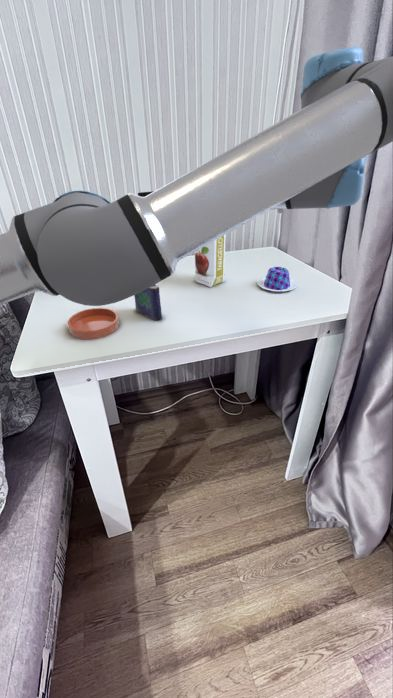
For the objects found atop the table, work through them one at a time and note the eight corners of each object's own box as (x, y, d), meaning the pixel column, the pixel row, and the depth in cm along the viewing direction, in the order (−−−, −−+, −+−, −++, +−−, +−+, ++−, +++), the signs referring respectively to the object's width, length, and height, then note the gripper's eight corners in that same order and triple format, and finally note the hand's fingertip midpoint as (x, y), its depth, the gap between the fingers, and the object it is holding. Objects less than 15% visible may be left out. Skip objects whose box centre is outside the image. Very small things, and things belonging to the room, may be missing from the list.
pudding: (304, 288, 98) (307, 271, 96) (274, 296, 94) (276, 279, 91) (278, 275, 107) (280, 260, 104) (249, 283, 102) (250, 267, 100)
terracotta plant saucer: (95, 344, 74) (93, 336, 73) (59, 331, 79) (57, 323, 78) (128, 321, 83) (127, 314, 82) (94, 311, 88) (93, 304, 87)
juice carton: (208, 275, 109) (208, 215, 98) (227, 282, 103) (229, 219, 93) (191, 281, 104) (190, 219, 94) (211, 289, 99) (211, 224, 88)
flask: (134, 311, 88) (129, 273, 82) (142, 307, 89) (138, 270, 83) (157, 322, 82) (153, 282, 76) (165, 317, 84) (162, 279, 78)
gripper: (242, 225, 48) (126, 229, 57) (279, 199, 67) (188, 205, 76) (240, 168, 44) (116, 181, 53) (280, 157, 63) (184, 168, 72)
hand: (158, 195), depth 64 cm, fingers open, 13 cm apart
